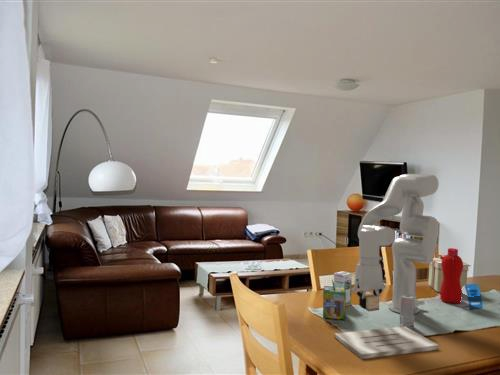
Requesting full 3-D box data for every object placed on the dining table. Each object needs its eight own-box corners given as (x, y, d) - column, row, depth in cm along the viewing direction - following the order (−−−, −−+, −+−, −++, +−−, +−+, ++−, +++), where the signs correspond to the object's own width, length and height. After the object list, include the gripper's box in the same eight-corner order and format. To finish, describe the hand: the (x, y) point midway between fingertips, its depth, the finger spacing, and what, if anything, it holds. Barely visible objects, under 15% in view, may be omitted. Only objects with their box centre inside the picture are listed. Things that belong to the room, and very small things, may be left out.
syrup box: (343, 307, 190) (344, 275, 189) (332, 304, 194) (333, 272, 194) (351, 304, 194) (352, 273, 193) (340, 301, 198) (341, 270, 198)
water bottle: (440, 303, 199) (442, 249, 198) (439, 297, 209) (441, 246, 208) (462, 306, 195) (465, 251, 194) (460, 299, 205) (462, 247, 204)
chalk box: (345, 320, 173) (346, 284, 172) (322, 318, 175) (323, 282, 174) (345, 313, 182) (346, 278, 181) (323, 311, 184) (324, 277, 183)
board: (404, 330, 164) (405, 326, 164) (438, 349, 147) (438, 345, 147) (334, 337, 155) (334, 333, 155) (361, 358, 138) (361, 354, 138)
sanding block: (358, 305, 169) (359, 293, 169) (368, 304, 170) (369, 291, 170) (368, 311, 162) (368, 298, 162) (379, 310, 164) (379, 297, 163)
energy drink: (413, 325, 169) (414, 295, 169) (414, 330, 164) (415, 299, 164) (399, 323, 171) (400, 293, 171) (399, 328, 166) (400, 297, 165)
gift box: (474, 294, 215) (476, 260, 214) (438, 293, 215) (439, 259, 214) (458, 285, 232) (460, 253, 231) (424, 284, 232) (425, 252, 231)
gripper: (382, 256, 171) (382, 301, 172) (344, 260, 166) (344, 306, 168) (393, 261, 164) (393, 307, 165) (354, 265, 159) (354, 312, 160)
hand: (368, 306), depth 166 cm, fingers closed on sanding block, 4 cm apart
